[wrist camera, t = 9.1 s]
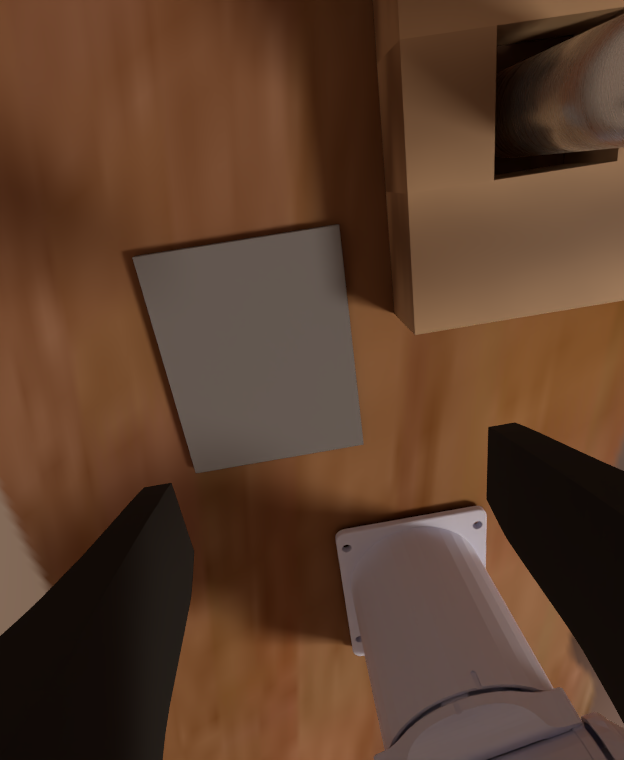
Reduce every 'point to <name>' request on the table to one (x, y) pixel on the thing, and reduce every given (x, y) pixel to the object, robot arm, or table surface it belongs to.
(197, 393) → the mat
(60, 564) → the table surface
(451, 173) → the hole block
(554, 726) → the robot arm
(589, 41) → the peg
